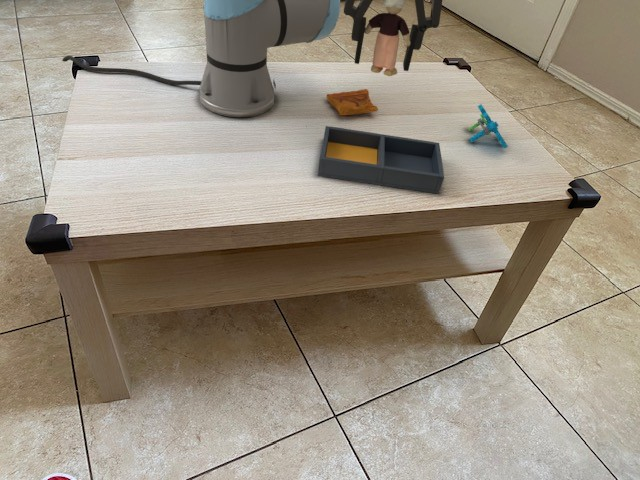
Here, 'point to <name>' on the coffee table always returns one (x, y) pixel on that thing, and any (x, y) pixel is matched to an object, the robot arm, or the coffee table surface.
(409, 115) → the coffee table surface
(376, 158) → the divided tray
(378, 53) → the grandmother figurine
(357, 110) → the pottery fragment
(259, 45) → the robot arm
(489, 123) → the blue green toy windmill
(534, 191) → the coffee table surface
